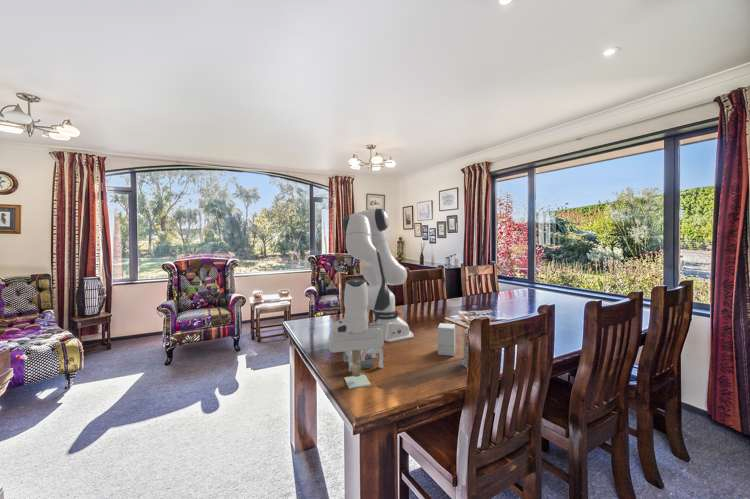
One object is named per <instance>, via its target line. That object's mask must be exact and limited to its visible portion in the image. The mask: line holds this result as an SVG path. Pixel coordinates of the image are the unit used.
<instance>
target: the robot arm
mask: <svg viewBox="0 0 750 499" xmlns="http://www.w3.org/2000/svg"><path fill="white" fill-rule="evenodd" d="M389 222H390V220H389V215H388V213H387V211H386V210H385V209H383V208H375V209H366V210H362V211H359V212H354V213H350V214H347V215H345V216H344V217H343V219H342V230H343V231H344V232H343V233H345V250H346V251H347V254H349V255H350V256H351V257H352V258H354V259H356V260H358V261H361V262H364V263H366V264H365V266H364V267H363V269H362V276H363V279H362V278H351V279H348V280H347V281H346V282H345V286H344V289H343V291H342V292H341V300H342V301H341V304H342V306H343V307H344V308H345V309H344V310H345V311H344V317H343V318H342V319H339V320H336V321H334V322H332V323H331V330H330V332H329V336H328V342H327V343H328V345H327V346H328V350H329V352H331V353H341V352H342V353H343V352H344V351H345V353H346V354H347V356H348V364H349V363H350V362H353V357H352V356H350V355H349V354H350V351H353V350H363V353H362V355H361V361H365V356H366V354H367V352H368V350H369V349H372V348H381V349H382V348H383V346H384V344H385V342H387V343H391V342H392V343H393V342H397V341H402V340H403V341H404V340H408V339H409V340H410V339H413V338H414V333H413V332H412V331H411V330H410V327H409V324H408V323H407V322H406V321H405V320H403V319H402V318H401V317H399V316H402V314H403V313H402V312H401V311H399V310H397V309H396V296H395V294H394V293H393V292H392V290H390V288H389V286H399V285H403V284H404V283H405V282H406V280H407V278H408V272H407V271H408V270H407V269H406V267H404V265H402V264H401V263H399V262H398V260H397V259H396V258H395V257H394V256H393V254H392V251H391V249H390V246H389V243H388V240H387V236H386V232H385V231H386V230H387V228H388V227H389ZM388 285H389V286H388ZM368 311H373V312H372V320H373V322H369V313H368ZM348 353H349V354H348Z"/></svg>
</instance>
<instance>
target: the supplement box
mask: <svg viewBox="0 0 750 499" xmlns="http://www.w3.org/2000/svg"><path fill="white" fill-rule="evenodd" d="M455 353H456V324H455V323H454V324H453V323H441V322H440V323H439V325H438V326H437V355H441V356H448V357H455Z"/></svg>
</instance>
